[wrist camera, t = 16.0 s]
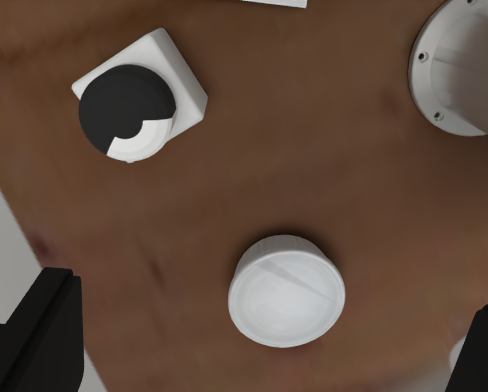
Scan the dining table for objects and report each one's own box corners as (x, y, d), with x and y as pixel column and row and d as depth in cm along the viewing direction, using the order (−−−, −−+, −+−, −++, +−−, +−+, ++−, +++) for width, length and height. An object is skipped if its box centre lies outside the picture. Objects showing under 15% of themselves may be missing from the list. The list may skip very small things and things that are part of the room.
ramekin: (337, 222, 46) (349, 249, 41) (331, 312, 51) (342, 346, 46) (226, 226, 46) (225, 253, 41) (230, 316, 51) (230, 350, 46)
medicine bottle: (95, 70, 40) (42, 101, 29) (163, 25, 38) (134, 39, 27) (144, 139, 42) (112, 191, 31) (209, 98, 41) (200, 138, 30)
